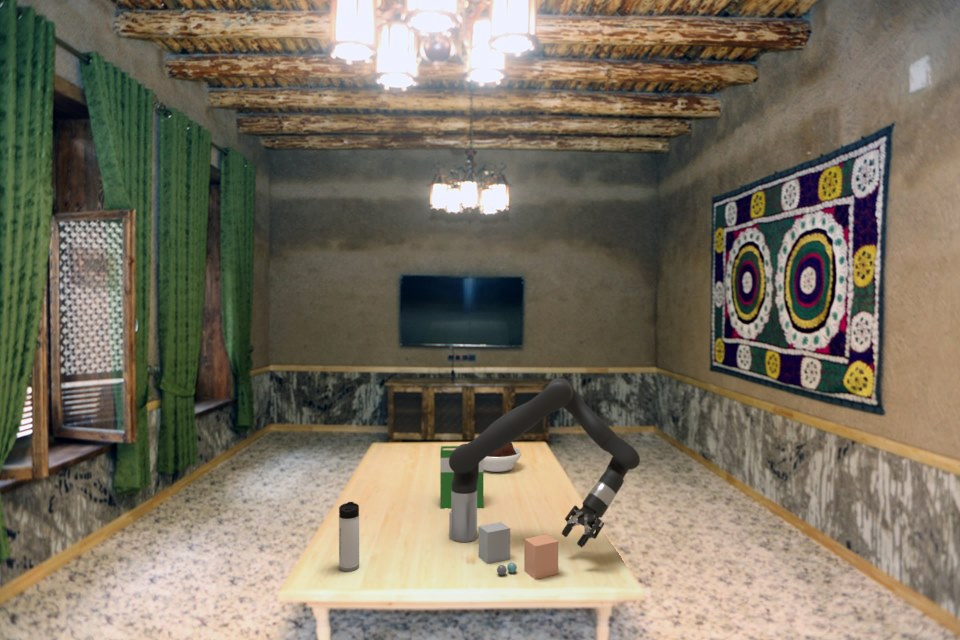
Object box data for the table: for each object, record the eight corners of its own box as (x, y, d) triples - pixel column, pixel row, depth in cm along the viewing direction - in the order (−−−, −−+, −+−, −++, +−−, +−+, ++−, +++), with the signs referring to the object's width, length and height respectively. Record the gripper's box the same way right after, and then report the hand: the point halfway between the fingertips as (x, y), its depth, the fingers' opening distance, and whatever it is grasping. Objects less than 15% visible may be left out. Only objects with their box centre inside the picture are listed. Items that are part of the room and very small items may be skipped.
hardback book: (482, 502, 253) (482, 446, 252) (483, 508, 245) (483, 450, 245) (440, 502, 252) (441, 446, 251) (440, 508, 245) (440, 450, 244)
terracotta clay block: (535, 579, 182) (535, 546, 182) (524, 571, 188) (524, 538, 187) (558, 573, 186) (558, 541, 186) (546, 565, 192) (546, 534, 191)
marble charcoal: (495, 576, 184) (495, 566, 184) (498, 572, 187) (498, 562, 187) (505, 577, 183) (505, 568, 183) (507, 573, 186) (507, 563, 186)
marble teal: (506, 573, 186) (506, 564, 186) (508, 569, 189) (508, 560, 189) (515, 575, 185) (515, 565, 185) (517, 571, 188) (517, 561, 188)
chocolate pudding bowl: (463, 466, 308) (464, 437, 308) (506, 461, 319) (506, 432, 318) (484, 479, 286) (484, 447, 285) (530, 473, 296) (530, 442, 296)
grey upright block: (487, 563, 193) (487, 532, 192) (478, 556, 198) (478, 526, 198) (510, 558, 197) (510, 528, 196) (500, 551, 202) (500, 521, 202)
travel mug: (360, 562, 194) (360, 501, 193) (357, 571, 187) (357, 508, 186) (341, 562, 193) (341, 501, 193) (337, 571, 187) (337, 508, 186)
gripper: (579, 486, 202) (551, 526, 197) (606, 499, 189) (577, 543, 185) (592, 498, 205) (565, 538, 200) (620, 512, 192) (591, 555, 188)
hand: (571, 540), depth 193 cm, fingers open, 8 cm apart
